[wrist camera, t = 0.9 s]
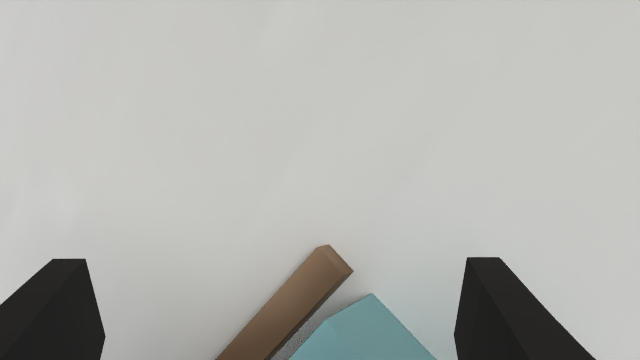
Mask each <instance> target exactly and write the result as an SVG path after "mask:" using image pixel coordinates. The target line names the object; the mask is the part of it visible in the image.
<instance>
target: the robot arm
mask: <svg viewBox="0 0 640 360" xmlns="http://www.w3.org/2000/svg"><path fill="white" fill-rule="evenodd" d="M454 338H455V344H456V350H457V356H458V360H596V359H595V358H594V357H593V356H591V355H590V354H589V353H588V352H587V351H586V350H585V349H584V348H583V347H582V346H581V345H580V344H579V343H578V342H577V341H576V340H575V339H574V338H573V337H572V336H571V334H570V333H569V332H568V331H567V330H566V329H565V328H564V327H563V326H562V325H561V324H560V323H559V322H558V321H557V320H556V319H555V318H554V317H553V316H552V315H551V314H550V313H549V312H548V311H547V309H546V308H545V307H544V306H543V305H542V304H541V303H540V302H539V301H538V300H537V298H536V297H535V296H534V295H533V294H532V293H531V292H530V291H529V290H528V289H527V287H526V286H525V285H524V284H523V283H522V282H521V281H520V280H519V278H518V277H517V276H516V275H515V274H514V273H513V272H512V271H511V270H510V268H509V267H508V266H507V265H506V264H505V263H504V262H503V261H502V260H501V259H500V258H499V257H467V261H466V267H465V273H464V279H463V284H462V290H461V296H460V302H459V308H458V314H457V320H456V326H455V331H454ZM104 341H105V333H104V329H103V325H102V321H101V317H100V313H99V309H98V305H97V302H96V298H95V294H94V290H93V286H92V282H91V278H90V274H89V271H88V267H87V263H86V259H52V260H51V261H50V262H49V263H48V264H46V265H45V266H44V267H43V268H42V269H40V270H39V271H38V272H37V273H36V274H35V275H34V276H32V277H31V278H30V279H29V280H28V281H27V282H26V283H25V284H23V285H22V286H21V287H20V288H19V289H18V290H17V291H16V292H14V293H13V294H12V295H11V296H10V297H9V298H8V299H7V300H5V301H4V302H3V303H2V304H1V305H0V360H100V357H101V353H102V349H103V345H104Z"/></svg>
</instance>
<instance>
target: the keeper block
mask: <svg viewBox="0 0 640 360" xmlns="http://www.w3.org/2000/svg"><path fill="white" fill-rule="evenodd" d="M288 360H436V359H435V358H434V357H433V356H432V355H431V354H430V352H429V351H428V350H427V349H426V348H425V347H424V346H423V345H422V344H421V343H420V342H419V341H418V340H417V339H416V338H415V337H414V336H413V335H412V334H411V333H410V332H409V331H408V330H407V329H406V328H405V326H404V325H403V324H402V323H401V322H400V321H399V320H398V319H397V318H396V317H395V316H394V315H393V314H392V313H391V312H390V311H389V310H388V309H387V308H386V307H385V306H384V305H383V304H382V303H381V302H380V300H379V299H378V298H377V297H376V296H375V295H374V294H373V293H372V294H370V295H368V296H367V297H365V298H363V299H361V300H360V301H358V302H356V303H354V304H352V305H351V306H349V307H347V308H345V309H343V310H342V311H340V312H338V313H336V314H335V315H333V316H331V317H329V318H327V319H326V320H324V322H323V323H322V324H321V325H320V326H319V327H318V328H317V329H316V330H315V331H314V332H313V333H312V335H311V336H310V337H309V338H308V339H307V340H306V341H305V342H304V343H303V344H302V345H301V346H300V348H299V349H298V350H297V351H296V352H295V353H294V354H293V355H292V356H291V357H290V358H289V359H288Z"/></svg>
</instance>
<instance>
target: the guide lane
mask: <svg viewBox="0 0 640 360" xmlns="http://www.w3.org/2000/svg"><path fill="white" fill-rule="evenodd" d="M352 272H353V270H352V269H351V268H350V267H349V266H348V264H347V263H346V262H345V261H344V260H343V259H342V258H341V257H340V256H339V255H338V254H337V253H336V252H335V250H334V249H333V248H332V247H331V246H330V245H325V246H321V247H318V248H316V249H315V250H314V252H313V253H312V254H311V255H310V256H309V257H308V258H307V259H306V260H305V261H304V263H303V264H302V265H301V266H300V267H299V268H298V269H297V270H296V271H295V273H294V274H293V275H292V276H291V277H290V278H289V279H288V280H287V281H286V282H285V284H284V285H283V286H282V287H281V288H280V289H279V290H278V291H277V292H276V293H275V295H274V296H273V297H272V298H271V299H270V300H269V301H268V302H267V303H266V305H265V306H264V307H263V308H262V309H261V310H260V311H259V312H258V313H257V314H256V316H255V317H254V318H253V319H252V320H251V321H250V322H249V323H248V324H247V325H246V327H245V328H244V329H243V330H242V331H241V332H240V333H239V334H238V335H237V336H236V338H235V339H234V340H233V341H232V342H231V343H230V344H229V345H228V346H227V348H226V349H225V350H224V351H223V352H222V353H221V354H220V355H219V356H218V357H217V359H216V360H270V359H271V358H272V357H273V356H274V355H275V354H276V353H277V352H278V351H279V350H280V349H281V347H282V346H283V345H284V344H285V343H286V342H287V341H288V340H289V339H290V338H291V337H292V336H293V335H294V334H295V333H296V332H297V331H298V330H299V328H300V327H301V326H302V325H303V324H304V323H305V322H306V321H307V320H308V319H309V318H310V317H311V316H312V315H313V314H314V313H315V312H316V310H317V309H318V308H319V307H320V306H321V305H322V304H323V303H324V302H325V301H326V300H327V299H328V298H329V297H330V296H331V295H332V294H333V293H334V291H335V290H336V289H337V288H338V287H339V286H340V285H341V284H342V283H343V282H344V281H345V280H346V279H347V278H348V277H349V276H350V275H351V273H352Z"/></svg>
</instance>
